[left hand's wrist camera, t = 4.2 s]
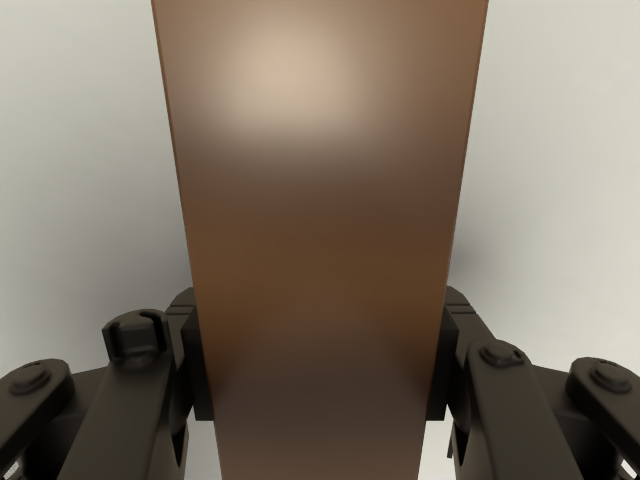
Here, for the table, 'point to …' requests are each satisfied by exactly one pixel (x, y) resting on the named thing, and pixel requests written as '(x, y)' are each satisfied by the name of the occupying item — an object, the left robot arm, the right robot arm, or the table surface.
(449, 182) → the beam
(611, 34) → the table surface
